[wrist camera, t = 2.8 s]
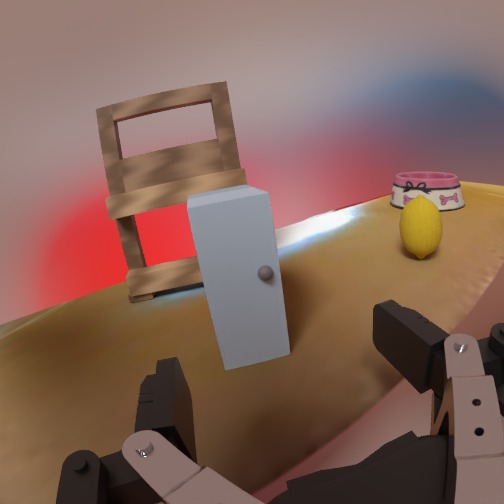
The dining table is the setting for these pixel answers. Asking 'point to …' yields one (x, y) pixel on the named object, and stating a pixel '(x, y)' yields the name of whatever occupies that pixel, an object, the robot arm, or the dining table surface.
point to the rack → (165, 178)
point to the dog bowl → (428, 189)
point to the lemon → (420, 226)
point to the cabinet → (240, 273)
